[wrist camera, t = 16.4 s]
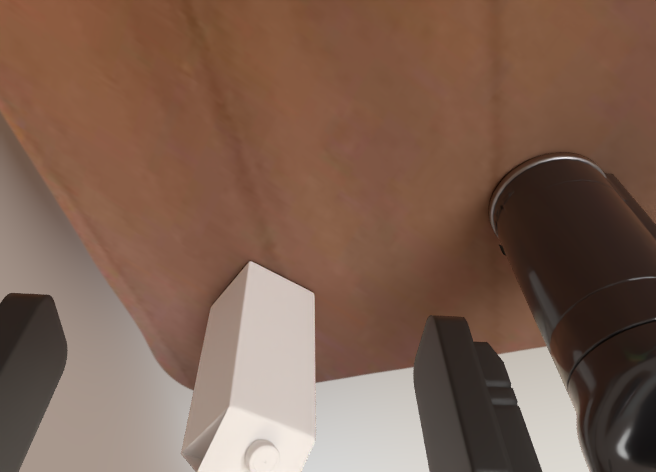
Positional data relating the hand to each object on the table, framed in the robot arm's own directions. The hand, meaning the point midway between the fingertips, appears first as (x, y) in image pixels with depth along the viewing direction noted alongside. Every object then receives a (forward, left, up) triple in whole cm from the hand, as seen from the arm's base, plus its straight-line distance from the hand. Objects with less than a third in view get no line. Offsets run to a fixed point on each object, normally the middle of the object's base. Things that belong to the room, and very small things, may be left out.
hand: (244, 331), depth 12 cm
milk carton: (+1, +27, -28) cm, 39 cm away
